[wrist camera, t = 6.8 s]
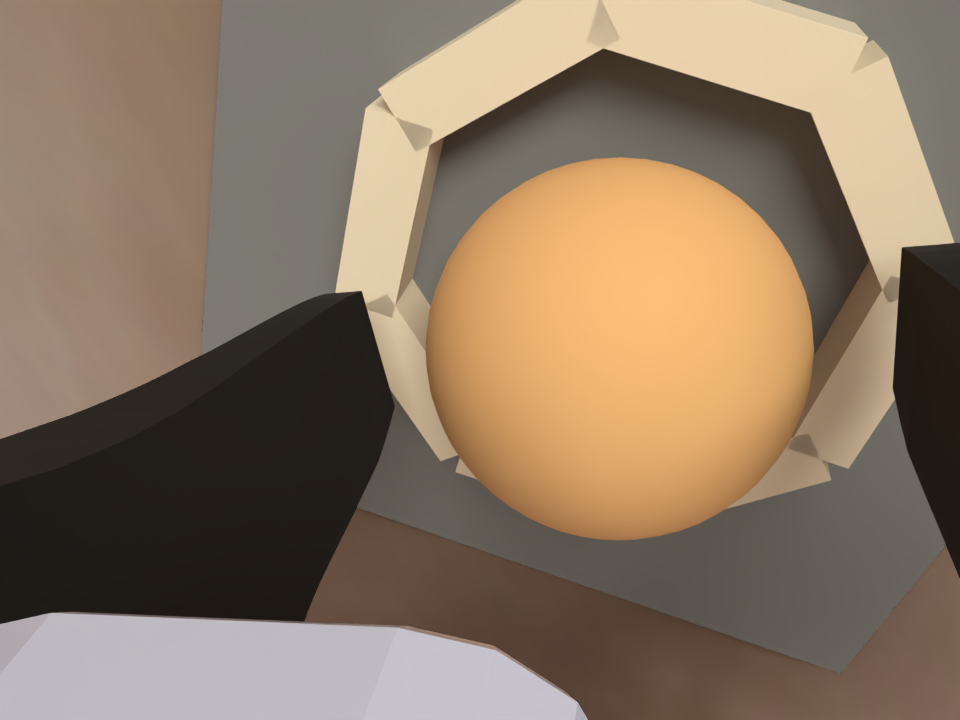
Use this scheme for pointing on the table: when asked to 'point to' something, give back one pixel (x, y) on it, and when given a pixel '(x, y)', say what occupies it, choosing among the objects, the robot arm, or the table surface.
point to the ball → (619, 348)
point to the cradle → (593, 135)
